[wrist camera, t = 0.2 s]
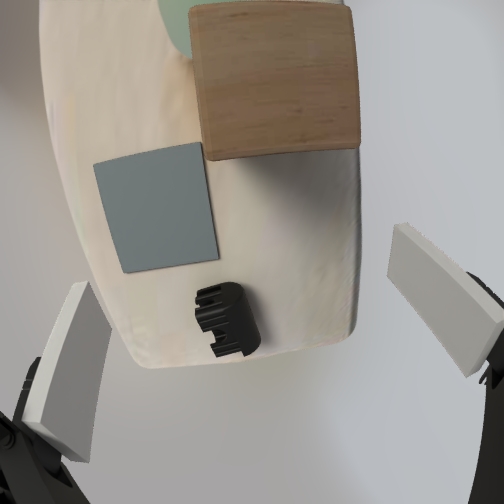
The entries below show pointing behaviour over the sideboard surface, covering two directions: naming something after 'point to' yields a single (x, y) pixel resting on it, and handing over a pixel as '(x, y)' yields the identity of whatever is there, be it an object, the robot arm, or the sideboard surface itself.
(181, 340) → the sideboard surface
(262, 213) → the sideboard surface
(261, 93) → the wooden block
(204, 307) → the black rounded block
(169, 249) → the mat
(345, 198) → the sideboard surface
